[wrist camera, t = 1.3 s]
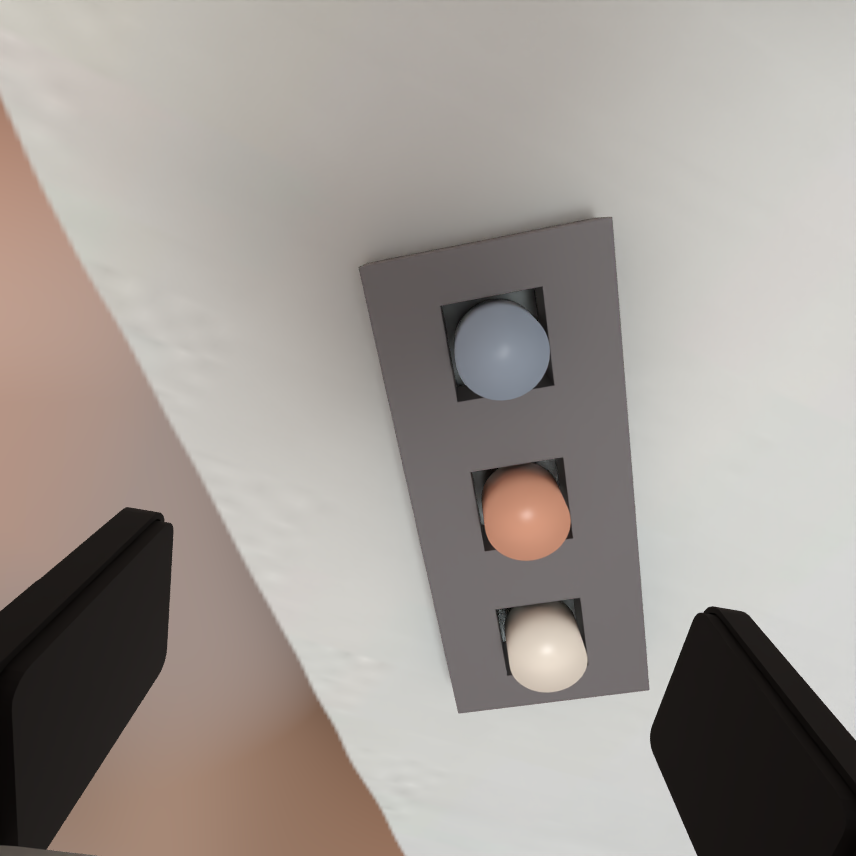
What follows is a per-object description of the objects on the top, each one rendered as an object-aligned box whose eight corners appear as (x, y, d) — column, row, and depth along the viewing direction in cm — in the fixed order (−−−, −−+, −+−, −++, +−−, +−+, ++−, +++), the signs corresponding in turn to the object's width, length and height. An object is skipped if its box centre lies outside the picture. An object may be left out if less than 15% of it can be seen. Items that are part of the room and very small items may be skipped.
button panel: (595, 217, 29) (612, 217, 26) (634, 655, 38) (649, 690, 35) (366, 263, 30) (358, 267, 27) (457, 678, 39) (458, 713, 36)
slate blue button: (534, 291, 28) (543, 298, 25) (544, 375, 30) (555, 391, 27) (447, 307, 29) (447, 316, 26) (461, 390, 30) (463, 407, 27)
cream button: (572, 592, 34) (583, 625, 31) (579, 650, 36) (590, 687, 33) (499, 602, 35) (504, 635, 32) (509, 659, 36) (514, 696, 33)
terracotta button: (554, 456, 31) (565, 478, 28) (563, 525, 33) (574, 554, 30) (475, 468, 32) (478, 492, 29) (487, 536, 33) (491, 566, 30)
